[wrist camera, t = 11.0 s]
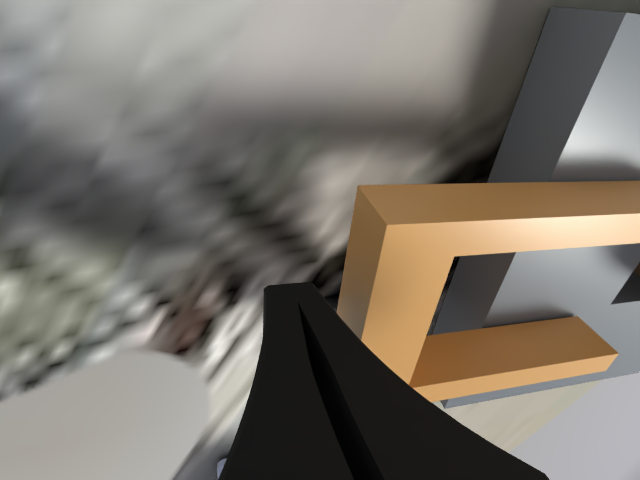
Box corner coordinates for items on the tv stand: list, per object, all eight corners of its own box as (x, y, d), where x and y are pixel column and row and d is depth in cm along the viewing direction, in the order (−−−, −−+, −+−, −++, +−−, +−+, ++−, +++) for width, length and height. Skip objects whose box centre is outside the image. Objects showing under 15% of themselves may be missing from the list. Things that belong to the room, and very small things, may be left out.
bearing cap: (327, 366, 14) (344, 417, 12) (357, 185, 10) (387, 224, 8) (566, 332, 17) (605, 370, 15) (664, 179, 13) (730, 209, 11)
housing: (420, 365, 20) (444, 408, 18) (551, 6, 11) (626, 12, 9) (600, 338, 23) (638, 372, 21) (812, 39, 14) (912, 49, 12)
